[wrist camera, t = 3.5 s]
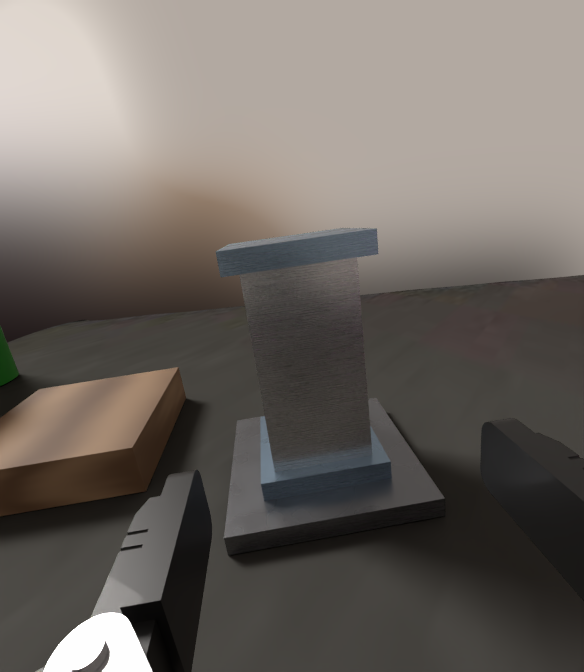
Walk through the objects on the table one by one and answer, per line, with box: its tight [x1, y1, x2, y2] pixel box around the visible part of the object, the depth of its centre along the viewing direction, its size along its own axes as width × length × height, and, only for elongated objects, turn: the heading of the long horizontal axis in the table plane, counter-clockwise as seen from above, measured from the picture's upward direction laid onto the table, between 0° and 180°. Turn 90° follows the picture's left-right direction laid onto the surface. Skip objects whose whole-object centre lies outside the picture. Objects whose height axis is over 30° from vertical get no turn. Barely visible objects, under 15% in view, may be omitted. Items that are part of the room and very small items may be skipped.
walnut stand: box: [0, 367, 186, 516], centre depth 26 cm, size 12×12×3 cm
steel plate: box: [224, 398, 445, 555], centre depth 21 cm, size 10×10×1 cm
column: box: [216, 228, 392, 501], centre depth 19 cm, size 6×6×12 cm
